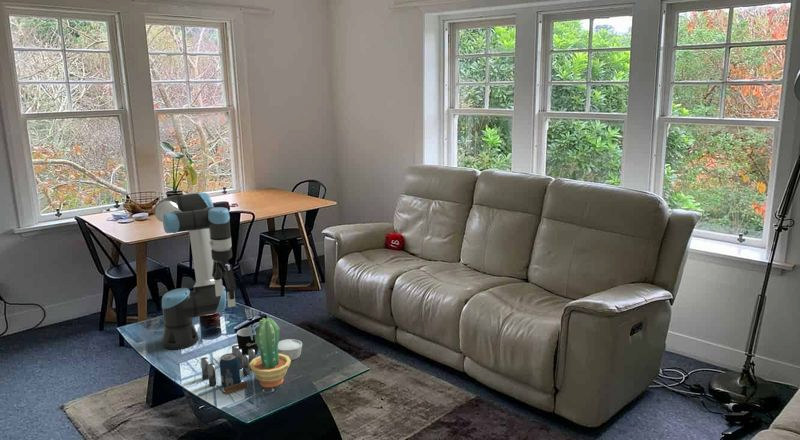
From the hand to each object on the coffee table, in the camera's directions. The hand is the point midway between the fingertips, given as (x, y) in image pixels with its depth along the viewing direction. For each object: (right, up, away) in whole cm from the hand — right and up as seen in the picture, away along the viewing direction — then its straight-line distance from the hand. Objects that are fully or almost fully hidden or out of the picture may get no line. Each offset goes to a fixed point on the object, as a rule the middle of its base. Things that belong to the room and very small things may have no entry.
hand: (225, 301), depth 237 cm
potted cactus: (+19, -30, -5) cm, 36 cm away
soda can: (+4, -31, -8) cm, 32 cm away
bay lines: (+5, -31, -8) cm, 32 cm away
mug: (+6, -25, +20) cm, 32 cm away
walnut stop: (+7, -32, -12) cm, 35 cm away
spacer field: (+1, -29, +2) cm, 29 cm away
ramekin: (+22, -25, +16) cm, 37 cm away
